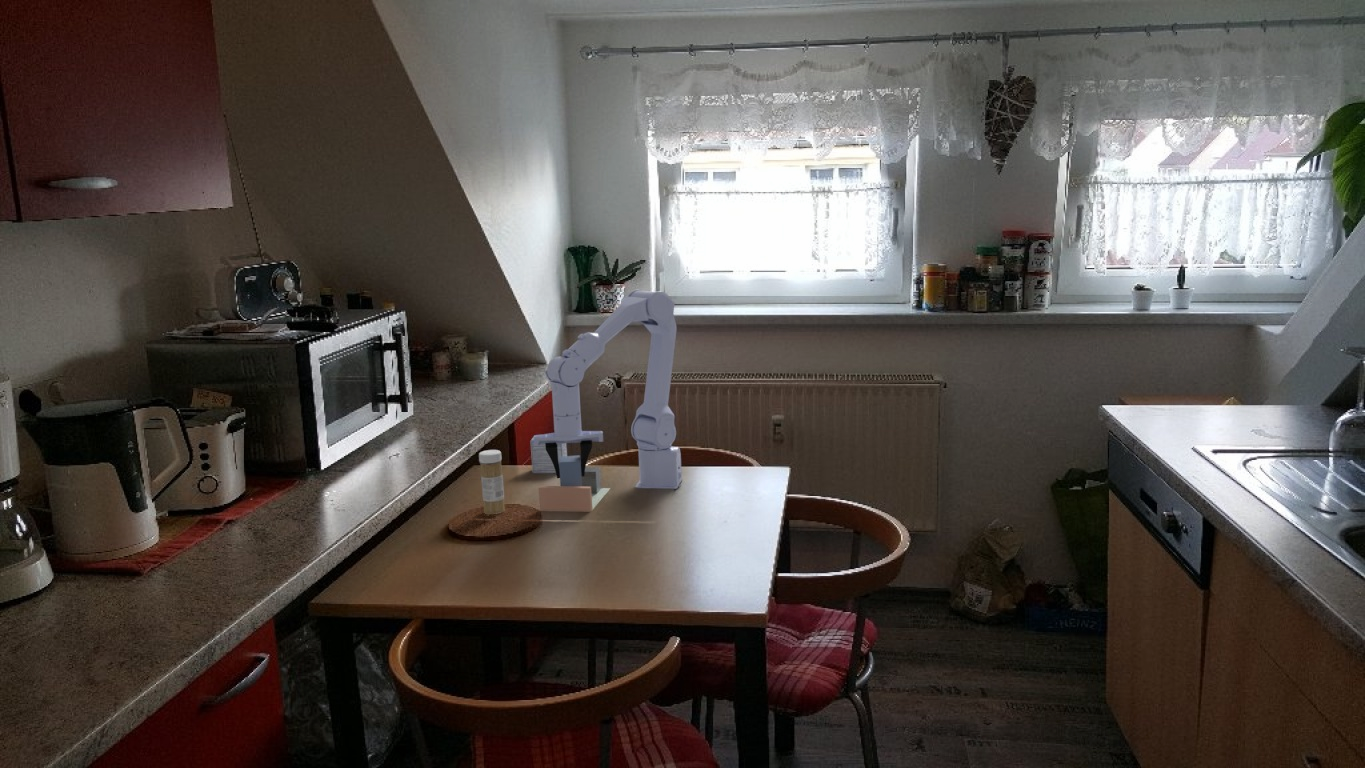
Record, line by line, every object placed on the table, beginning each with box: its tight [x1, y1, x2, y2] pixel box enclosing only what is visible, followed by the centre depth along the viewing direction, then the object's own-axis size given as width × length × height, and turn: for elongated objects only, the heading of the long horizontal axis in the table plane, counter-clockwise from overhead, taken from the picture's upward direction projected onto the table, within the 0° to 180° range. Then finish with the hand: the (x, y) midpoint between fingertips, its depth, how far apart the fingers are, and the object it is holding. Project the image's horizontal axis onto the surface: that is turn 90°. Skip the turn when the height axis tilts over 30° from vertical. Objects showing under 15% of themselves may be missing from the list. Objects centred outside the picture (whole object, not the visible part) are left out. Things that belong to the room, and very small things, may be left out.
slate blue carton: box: [559, 454, 582, 486], centre depth 207 cm, size 4×5×6 cm
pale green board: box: [538, 485, 611, 513], centre depth 211 cm, size 11×17×5 cm, turn 170°
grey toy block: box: [582, 466, 602, 494], centre depth 217 cm, size 7×4×5 cm, turn 80°
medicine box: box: [529, 437, 568, 474], centre depth 236 cm, size 8×4×9 cm, turn 84°
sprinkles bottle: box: [478, 449, 506, 515], centre depth 203 cm, size 5×5×14 cm
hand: (570, 476), depth 208 cm, fingers closed on slate blue carton, 4 cm apart
